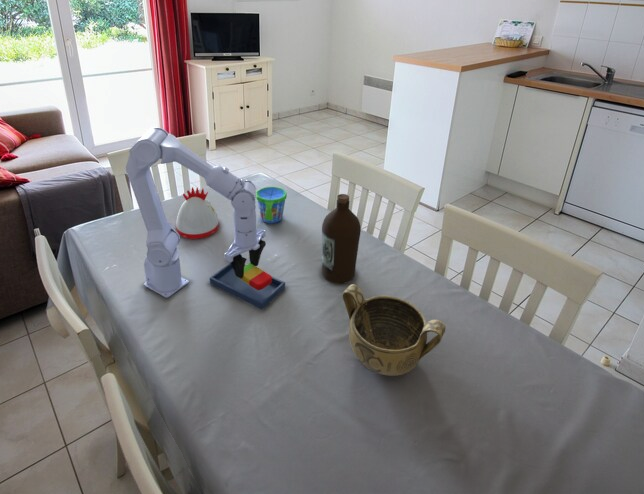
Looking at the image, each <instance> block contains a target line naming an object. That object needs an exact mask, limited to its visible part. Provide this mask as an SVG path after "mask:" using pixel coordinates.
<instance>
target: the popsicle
mask: <svg viewBox="0 0 644 494" xmlns="http://www.w3.org/2000/svg"><path fill="white" fill-rule="evenodd" d="M229 263H230V262H228V264H229ZM245 265H246V266H244V276H243V278H240V279H241V280H243V281H244V282H246V283H247V284H249V285H250V286H252V287H253V288H255V289H256V290H261V289H263V288H265V287H266V286H268V285H269V284H271V282H272V277H273V276H272V275H271V274H270V273H268V272H266V271H264V270H263V269H261V268H260V267H258V266H255V265H253V264H251V263H250V262H249V263H247V264H245ZM235 276H236V275H235ZM271 276H272V277H271ZM236 277H237V276H236ZM238 278H239V277H238Z"/></svg>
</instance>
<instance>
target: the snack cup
mask: <svg viewBox="0 0 644 494" xmlns="http://www.w3.org/2000/svg"><path fill="white" fill-rule="evenodd" d="M287 196H288V195H287V190H285V189H284V188H282V187H278V186H266V187H262V188H260V189H258V190H256V198H255V199H256V200H257V204H258V210H259V215H260V220H261V221H262V222H265V223H267V224H276V223H278V222H281V220H282V219H283V215H284V210H285V204H286V200H287Z"/></svg>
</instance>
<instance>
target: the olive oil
mask: <svg viewBox="0 0 644 494" xmlns="http://www.w3.org/2000/svg"><path fill="white" fill-rule="evenodd" d="M361 230H362V228H361V223H360V220H359V218H358V216H357V215H356V214H355V213H354V212H353V211H352V210H351V209H350V196H349V194H346V193H339V194H338V195H337V197H336V207H335V208H334V209H333V210H331V211H329V212H328V214H327V215H325V217H324V219H323V221H322V224H321V274H322V276H323V278H324V279H325V280H326V281H328V282H330V283H333V284H338V285H340V284H347V283H349V282H351V281H352V280H353V279H354V278H355V275H356V267H357V259H358V252H359V245H360V239H361Z"/></svg>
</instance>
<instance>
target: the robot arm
mask: <svg viewBox="0 0 644 494" xmlns="http://www.w3.org/2000/svg"><path fill="white" fill-rule="evenodd" d="M128 152H129V155H128V157H127V158H128V159H127V162H126V165H125V171H126V174H127V177H128V180H129V183H130V186H131V188H132V191H133V194H134V197H135V200H136V203H137V206H138V209H139V211H140V214H141V218H142V220H143V222H144V226H145V229H146V231H147V232H146V240H145V245H146V249H147V251H146V256H145V259H144V261H143V268H144V276H145V282H144V283H143V286H144V287H146V288H147V289H149V290H151V291H153V292H155V293H157V294H158V295H160V296H162V297H164V298H166V299H168V298H169V297H171V296H172V295H174V294H175V293H177V292H178V291H179V290H181V289H182V288H184V287H186V285H187V284H189V283H190V282H189V280H188V279H186V278H185V277H182V272H181V270H182V269H181V262H180V261H181V260H180V253H179V251H178V245H179V243H180V242H181V235H179V234H178V232H177V230H175V228H174V226H173V223H171V222H169V221H168V220H167V217H166V213H165V210H164V208H163V204H162V201H161V198H160V195H159V192H158V188H157V185H156V181H155V179H154V177H153V174H152V171H151V167H152V166H153V165H155V164H157V162H159V161H160V164H161V165H165V164H170V163H178V164H179V165H181V166H183V167H184V168H186V169H187V170H190V171H191V172H193V173H195V174H196V175H199V176H200V177H202V178H204V181H205V184H206V186H207V187H209V188H210V189H212V190H214V191H215V192H217V193H218V194H220V195H221V196H223V197H224V198H226V199H227V200H229V201H230V205H231V206H232V208H233V231H234V232H233V233H234V240H233V242H232V244H231V245H230V247H229V248H228V250H227V251H226V252H225V253H224V254H223V255H224V261H225V262H228V263H229V262H230V263H231V265H232V267H233V269H234V272H235V275H236V276H237V277H239V278H243V276H244V266H245V265H246V262H247V260H248V259H247V258H246V257H244V256H243V254H244V253H246V252H248V257H249V263H251V264H253V265H255V266H256V267H258V265H259V262H260V259H261V255H262V254H263V250H264V248H265V247H266V245H267V243H266V240H262V239H264V238H266V237H267V235H266V232H267V231H266V230H265V229H262V228H258V227H257V210H256V208H257V205H256V199H257V198H256V192H257V186H256V184H254V183H253V182H252V181H251V180H250V179H243V178H241V179H240V178H239V177H237V175H235V174H233V173H232V172H230V169H229V168H228V167H226V166H224V167H223V166H221V165H215V166H214V165H211V164H210V163H208V162H207V161H206V160H205V159H203V158H202V157H201V156H199V155H198V154H197V153H196V152H194V151H192V149H190V148H188V147H187V146H186V145H184V144H183V143H182V142H181V141H180V140H179V139H178V138H177V137H176V136H175V135H174V134H172V133H170V132H168V131H167V130H166V129H164V128H162V127H159V126H154V127H151V128H149V129H148V130H147V131H146V132H145V133H144V134H143V135H142V136H141V137H140V138H139V139H138V140H137V141H135V143H134V144H133V145H132V146H131V147H130V149H129V151H128Z"/></svg>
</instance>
